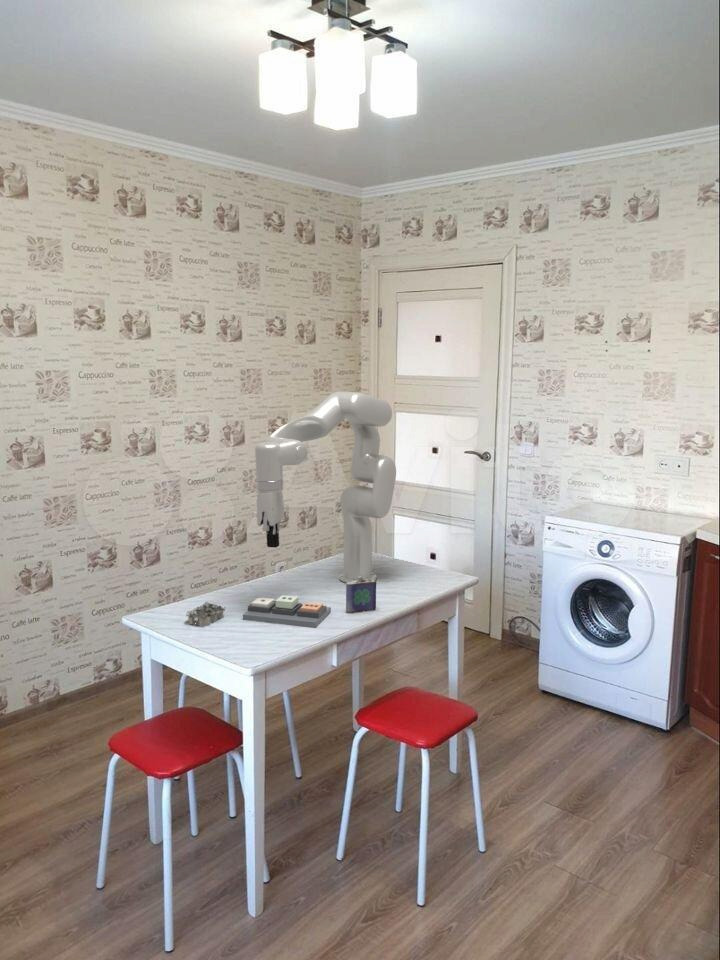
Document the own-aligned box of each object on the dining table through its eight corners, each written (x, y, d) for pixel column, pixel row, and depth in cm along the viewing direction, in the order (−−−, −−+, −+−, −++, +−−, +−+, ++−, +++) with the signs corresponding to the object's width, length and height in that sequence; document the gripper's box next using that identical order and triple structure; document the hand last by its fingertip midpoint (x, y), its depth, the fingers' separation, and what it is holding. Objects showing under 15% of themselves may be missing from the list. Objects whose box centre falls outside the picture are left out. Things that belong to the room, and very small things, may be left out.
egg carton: (204, 629, 209) (204, 615, 208) (183, 624, 212) (182, 610, 211) (228, 616, 218) (227, 603, 217) (207, 612, 221) (207, 599, 221)
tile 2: (282, 601, 220) (282, 594, 220) (298, 603, 219) (298, 596, 219) (275, 607, 216) (275, 599, 215) (292, 608, 214) (291, 601, 214)
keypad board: (261, 605, 227) (261, 595, 227) (330, 612, 221) (330, 602, 220) (242, 619, 215) (242, 609, 214) (315, 627, 209) (315, 617, 208)
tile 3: (306, 608, 219) (306, 601, 218) (322, 610, 217) (322, 603, 217) (300, 614, 214) (300, 607, 214) (317, 616, 212) (316, 608, 212)
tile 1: (258, 604, 223) (258, 596, 222) (274, 605, 221) (274, 598, 221) (251, 609, 218) (251, 602, 218) (267, 611, 217) (267, 603, 216)
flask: (347, 614, 220) (347, 578, 218) (344, 610, 222) (344, 575, 221) (377, 610, 223) (377, 575, 221) (373, 607, 225) (374, 572, 224)
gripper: (268, 479, 226) (271, 539, 230) (247, 490, 212) (250, 553, 216) (291, 480, 224) (294, 540, 228) (272, 491, 210) (275, 554, 214)
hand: (273, 546), depth 222 cm, fingers closed
